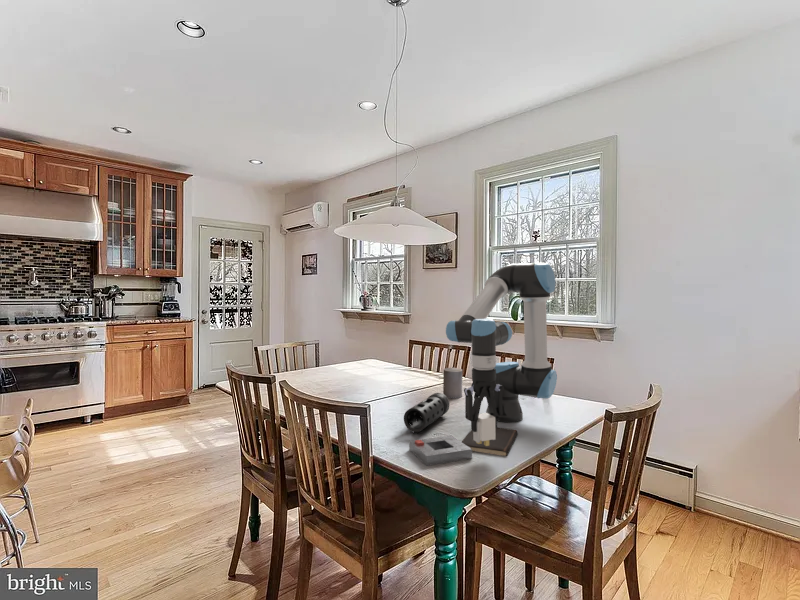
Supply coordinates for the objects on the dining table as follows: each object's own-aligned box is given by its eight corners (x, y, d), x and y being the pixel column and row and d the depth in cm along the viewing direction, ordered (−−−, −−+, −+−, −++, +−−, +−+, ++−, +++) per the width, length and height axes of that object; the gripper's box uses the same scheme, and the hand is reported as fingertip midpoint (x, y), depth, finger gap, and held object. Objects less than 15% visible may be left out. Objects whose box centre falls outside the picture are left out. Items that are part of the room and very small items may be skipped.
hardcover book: (459, 450, 147) (459, 444, 147) (475, 430, 168) (475, 424, 168) (506, 458, 140) (506, 451, 140) (517, 436, 161) (517, 429, 161)
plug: (486, 439, 141) (486, 412, 141) (495, 445, 137) (495, 417, 136) (473, 442, 140) (473, 414, 139) (481, 447, 135) (481, 419, 134)
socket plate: (451, 443, 152) (451, 433, 151) (472, 458, 138) (472, 446, 138) (409, 450, 146) (409, 438, 146) (426, 465, 133) (426, 453, 133)
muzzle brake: (402, 433, 163) (402, 406, 163) (430, 414, 188) (430, 390, 188) (426, 437, 159) (426, 409, 159) (451, 416, 184) (451, 392, 184)
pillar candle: (439, 395, 222) (439, 366, 221) (455, 392, 226) (456, 364, 225) (449, 399, 213) (449, 369, 212) (466, 397, 217) (466, 367, 217)
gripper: (464, 372, 130) (465, 448, 131) (514, 367, 137) (515, 439, 138) (452, 368, 137) (453, 440, 138) (500, 363, 144) (501, 432, 145)
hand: (484, 439), depth 138 cm, fingers closed on plug, 5 cm apart
